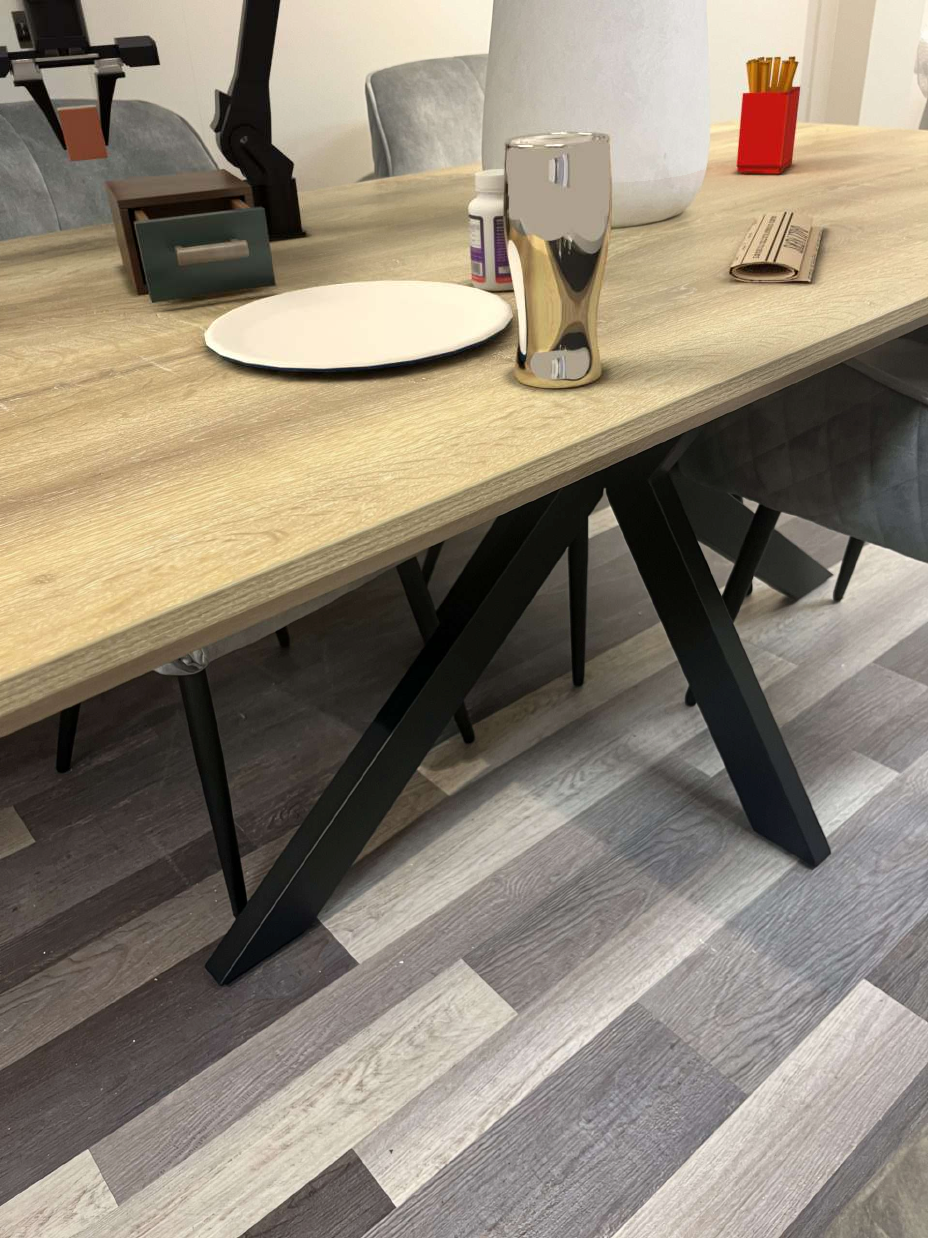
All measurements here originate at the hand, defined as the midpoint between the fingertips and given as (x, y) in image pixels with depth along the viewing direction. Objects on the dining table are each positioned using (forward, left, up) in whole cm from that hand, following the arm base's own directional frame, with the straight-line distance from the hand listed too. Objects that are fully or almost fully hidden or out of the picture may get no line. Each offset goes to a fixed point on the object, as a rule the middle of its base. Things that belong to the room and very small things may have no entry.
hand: (86, 147), depth 109 cm
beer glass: (-25, +66, -11) cm, 71 cm away
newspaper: (-60, +44, -11) cm, 75 cm away
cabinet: (-7, +16, -11) cm, 21 cm away
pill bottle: (-32, +40, -11) cm, 52 cm away
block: (0, 0, -1) cm, 1 cm away
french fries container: (-91, -1, -11) cm, 92 cm away
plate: (-16, +48, -11) cm, 52 cm away
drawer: (-7, +27, -10) cm, 29 cm away
